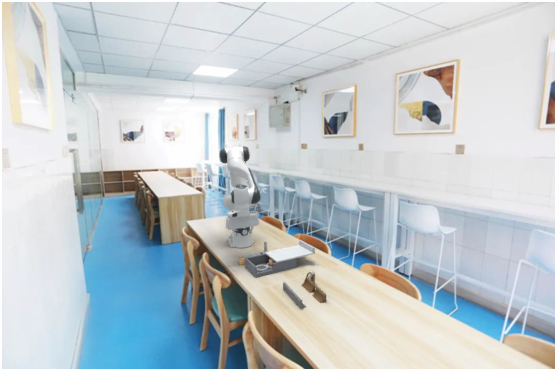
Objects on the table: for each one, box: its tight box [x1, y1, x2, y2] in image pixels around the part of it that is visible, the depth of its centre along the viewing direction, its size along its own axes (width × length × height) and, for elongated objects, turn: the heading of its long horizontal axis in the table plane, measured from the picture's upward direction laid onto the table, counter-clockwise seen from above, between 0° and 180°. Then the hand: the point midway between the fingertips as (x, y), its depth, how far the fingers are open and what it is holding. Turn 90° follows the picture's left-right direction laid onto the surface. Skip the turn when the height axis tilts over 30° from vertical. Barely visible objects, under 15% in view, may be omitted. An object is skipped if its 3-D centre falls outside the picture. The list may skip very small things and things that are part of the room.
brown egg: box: [238, 256, 246, 266], centre depth 173 cm, size 4×4×4 cm
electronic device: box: [247, 241, 268, 258], centre depth 184 cm, size 5×10×15 cm
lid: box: [265, 239, 316, 263], centre depth 173 cm, size 16×26×4 cm, turn 118°
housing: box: [244, 254, 298, 279], centre depth 168 cm, size 16×26×6 cm, turn 118°
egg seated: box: [269, 258, 276, 267], centre depth 168 cm, size 4×4×4 cm
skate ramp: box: [282, 270, 327, 309], centre depth 140 cm, size 29×35×8 cm
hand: (243, 234), depth 171 cm, fingers open, 8 cm apart
